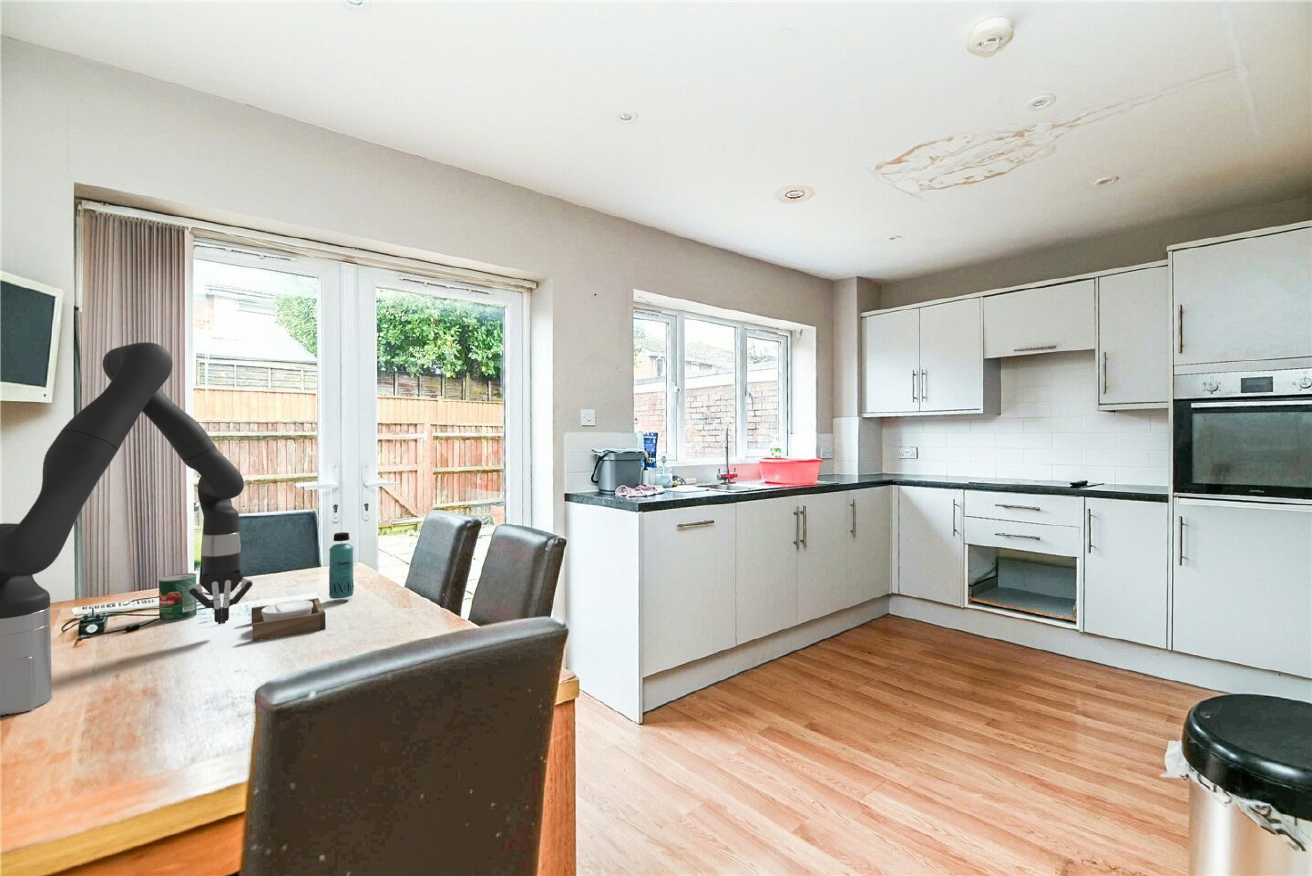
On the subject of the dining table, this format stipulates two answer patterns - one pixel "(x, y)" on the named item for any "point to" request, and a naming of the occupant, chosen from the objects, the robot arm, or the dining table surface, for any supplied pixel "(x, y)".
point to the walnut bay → (287, 622)
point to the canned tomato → (176, 597)
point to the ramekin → (287, 610)
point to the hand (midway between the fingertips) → (221, 623)
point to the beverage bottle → (341, 568)
